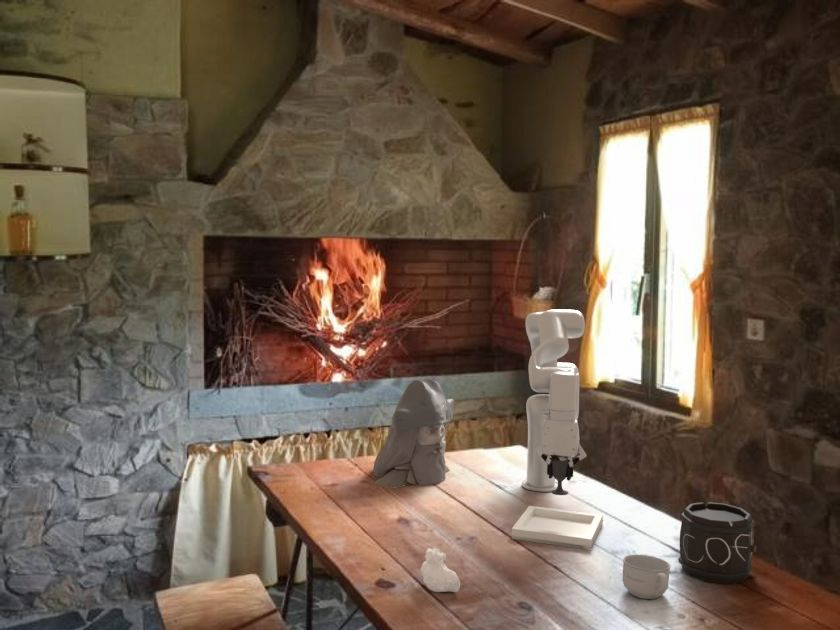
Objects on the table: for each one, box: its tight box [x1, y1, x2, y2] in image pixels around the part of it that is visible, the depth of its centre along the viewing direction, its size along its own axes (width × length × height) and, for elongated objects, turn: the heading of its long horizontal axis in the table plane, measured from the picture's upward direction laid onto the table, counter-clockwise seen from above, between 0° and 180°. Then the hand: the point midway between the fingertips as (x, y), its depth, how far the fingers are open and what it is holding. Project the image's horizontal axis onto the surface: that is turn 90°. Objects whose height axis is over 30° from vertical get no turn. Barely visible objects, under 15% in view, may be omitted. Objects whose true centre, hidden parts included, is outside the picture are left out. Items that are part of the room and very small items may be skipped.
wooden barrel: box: [678, 501, 757, 586], centre depth 211 cm, size 18×18×16 cm
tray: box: [511, 505, 604, 551], centre depth 240 cm, size 22×22×3 cm
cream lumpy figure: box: [419, 547, 461, 593], centre depth 198 cm, size 12×8×11 cm
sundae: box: [549, 453, 570, 496], centre depth 238 cm, size 7×7×15 cm
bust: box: [372, 378, 455, 488], centre depth 292 cm, size 34×34×35 cm
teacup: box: [622, 554, 671, 600], centre depth 196 cm, size 14×11×8 cm
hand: (560, 477), depth 238 cm, fingers closed on sundae, 4 cm apart
